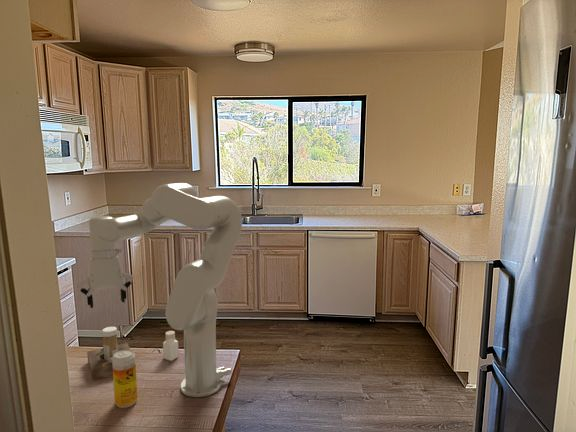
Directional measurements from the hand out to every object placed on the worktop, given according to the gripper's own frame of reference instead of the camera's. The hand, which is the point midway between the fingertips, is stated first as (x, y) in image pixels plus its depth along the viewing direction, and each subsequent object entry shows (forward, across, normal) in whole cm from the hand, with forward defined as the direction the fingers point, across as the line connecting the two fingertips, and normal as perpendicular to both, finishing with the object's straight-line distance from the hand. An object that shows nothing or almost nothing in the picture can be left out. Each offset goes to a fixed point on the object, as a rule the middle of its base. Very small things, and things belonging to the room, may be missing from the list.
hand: (107, 303), depth 132 cm
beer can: (+22, 0, +25) cm, 33 cm away
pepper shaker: (+22, -19, +5) cm, 30 cm away
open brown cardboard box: (+22, 0, 0) cm, 22 cm away
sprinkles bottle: (+22, 0, 0) cm, 22 cm away
